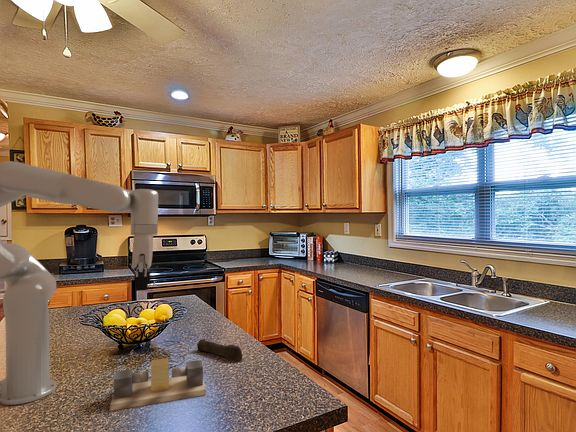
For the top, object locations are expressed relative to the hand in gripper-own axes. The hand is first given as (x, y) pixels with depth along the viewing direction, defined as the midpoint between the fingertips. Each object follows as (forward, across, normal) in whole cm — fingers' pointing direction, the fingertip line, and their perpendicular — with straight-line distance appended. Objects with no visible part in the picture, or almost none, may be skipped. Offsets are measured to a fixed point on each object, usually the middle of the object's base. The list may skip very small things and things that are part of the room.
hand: (142, 287), depth 106 cm
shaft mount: (+26, +13, +6) cm, 30 cm away
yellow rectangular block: (+25, +13, +6) cm, 29 cm away
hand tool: (+26, -9, +25) cm, 37 cm away
